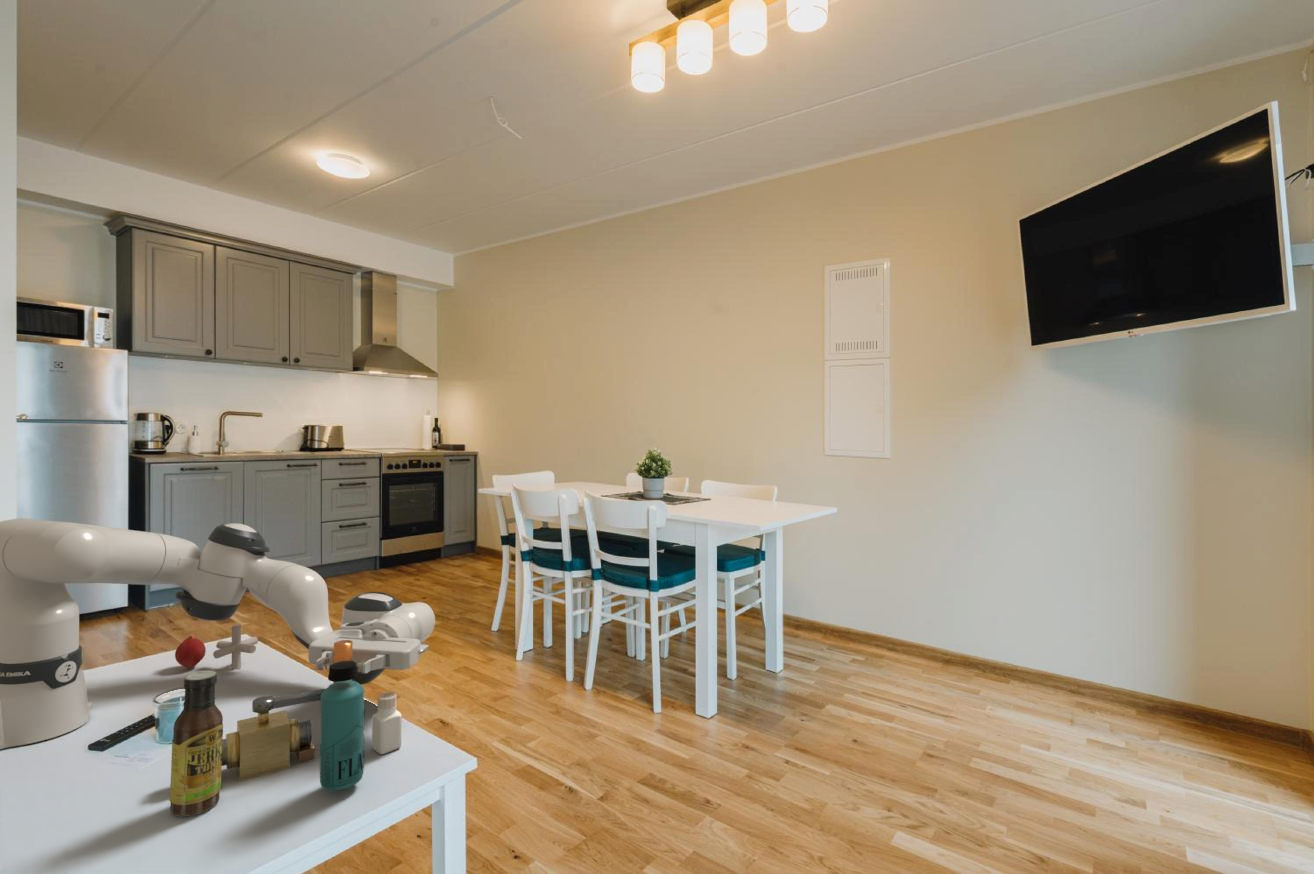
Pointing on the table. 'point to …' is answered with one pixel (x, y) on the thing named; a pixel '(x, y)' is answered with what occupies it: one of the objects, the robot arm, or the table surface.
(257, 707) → the crank handle
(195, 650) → the onion
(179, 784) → the sauce bottle
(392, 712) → the pepper shaker
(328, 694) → the beverage bottle
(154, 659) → the table surface
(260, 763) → the ball valve
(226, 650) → the pipe connector
